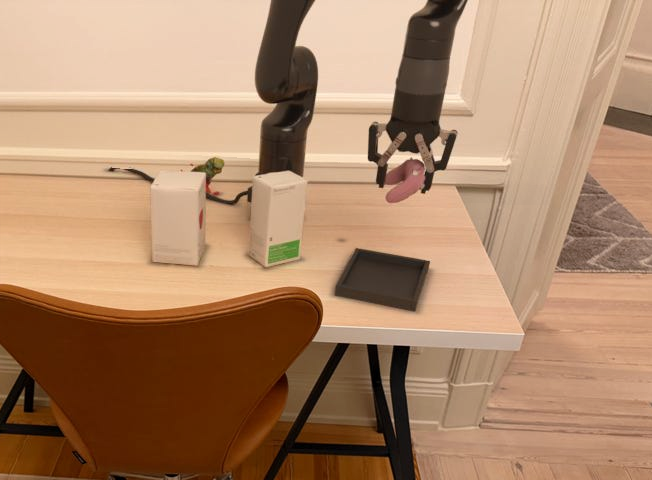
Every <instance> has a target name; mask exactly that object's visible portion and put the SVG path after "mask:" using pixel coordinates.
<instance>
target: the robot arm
mask: <svg viewBox="0 0 652 480" xmlns="http://www.w3.org/2000/svg"><path fill="white" fill-rule="evenodd" d="M468 1H469V0H426V2H425V4H424V6H423V7H422V8H421V9H419V10H418V11H416V12H415V13H413V14H412V15H411V16H410V17H409V19H408V22H407V25H406V31H405V37H404V42H403V49H402V54H401V58H400V59H401V60H400V63H399V66H398V71H397V76H396V78H395V86H394V87H395V88H394V95H393V99H392V100H393V101H392V106H391V113H390V118H389V120H388V122H387V123H385V122H384V123H383V122H382V123H380V122H378V121H373V122H372V123H370V126H369V127H368V140H367V161H368V162H370V163H375V164H376V165H377V170H376V177H375V184H376V185H378V189H384V187H385V185H386V184H385V180H386V174H387V173H388V167H389V163H388V161H389V160H390V159H391V158H392V157H393V156H394V154H395V152H396V151H398V152H399V153H407V152H409V153H412V154H417V155H418V154H419V155H420V157H421V161H422V162H423V163H424V166H425V170H424V176H425V180H424V182H423V183H424V187H423V189H421V190H420V194H424V195H425V194H426V193H427V192H429V191H430V190H431V188H432V185H433V180H434V176H435V173H436V172H438V171H445V170H446V169H447V167H448V164H449V161H450V158H451V154H452V153H453V152H452V151H453V149H454V146H455V143H456V140H457V137H458V130H457V129H451V130H446V129H442V128H441V126H440V120H441V114H442V111H443V110H442V109H443V104H444V99H445V96H446V95H445V94H446V89H447V85H448V81H449V80H448V79H449V74H450V63H451V55H452V51H453V46H454V40H455V36H456V29H457V26H458V23H459V21H460V19H461V18H462V15H463V13H464V11H465V9H466V5H467V3H468ZM315 2H316V0H270V3H269V8H268V14H267V19H266V23H265V27H264V30H263V35H262V39H261V42H260V46H259V49H258V53H257V57H256V62H255V68H254V86H255V90H256V93H257V95H258V98H259V99H260V100H261V101H262V102H264V103H266V104H269V105H275V106H274V107H273V109H272V110H271V111H270V113H268V114H267V115H266V116H264V117H263V119H262V121H261V122H260V132H259V133H260V134H259V153H258V167H257V172H256V173H255V175H254V176H257V175H264V174H268V173H276V172H283V171H291V172H293V173H295V174H296V175H299V176H301V177H303V178H304V173H305V161H306V151H307V150H306V149H307V140H308V138H307V137H308V131H309V128H310V126H311V123H312V121H313V118H314V112H315V107H316V98H317V93H318V85H319V84H318V83H319V67H318V66H319V65H318V61H317V58H316V56H315V54H314V52H313V51H312V50H311V49H310V48H309V47H306V46H303V45H297V46H296V44H297V40H298V37H299V33H300V30H301V27H302V25H303V23H304V20H305V19H306V17H307V15H308V13H309V12H310V10H311V8H312V7H313V5H314V4H315ZM384 132H386V134H387V136H388V137H389V141H390V144H389V145H388V146H387V148H386V149H385V151H384V152H383V153H382V154H381V153H379V138H381V137H382V135H383V133H384ZM438 138H440V139H441V141H440V142H441V144H442V146H444V150H443V152H442V155H441V158H440V159H439V160H435V159H436V158H435V157H434V153H433V148H432V144H433V142H434V141H436V140H437V139H438ZM117 169H118V170H121V169H120V168H112V166H111V167H110V168H109V169H108V172H113V171H114V170H117ZM122 170H123V171H126V172H130V173H133V174H136V175H139V176H141V177H142V178H144V179H146V180H147V181H149V182H151V183H153V182H154V180H155V178H153V177H152V176H150V175H149V174H147V173H145V172H143V171H142V170H138V169H135V168H132V169H122ZM245 196H246V197H247V198H246V202H247V203H250V204H251V201H252V185H251V186H249V187H248V188H247V190H244V191H241V192H239V193H238V194H237V195H236V196H235V199H232V200H226V199H222V198H220V197H217V196H215V195H212V194H209V193H206V199H209V200H211V201H214V202H216V203H220V204H225V205H235V204H238V202H240V199H241V198H242V197H245Z"/></svg>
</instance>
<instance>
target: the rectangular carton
mask: <svg viewBox="0 0 652 480" xmlns="http://www.w3.org/2000/svg"><path fill="white" fill-rule="evenodd" d="M154 179H155V180H154V182H151V184H150V187H149V195H150V198H149V199H150V225H151V227H150V228H151V230H150V231H151V251H152V252H151V257H152V259H151V260H152V263H162V264H163V263H164V264H172V265H173V264H174V265H185V266H197V267H198V265H199V264H200V261H201V258H202V255H203V253H204V251H205V247H206V220H207V219H206V215H207V214H206V212H207V210H206V209H207V208H206V207H207V206H206V205H207V204H206V201H207V198H206V194H207V190H206V173H203V172H190V171H185V170H182V171H181V170H172V169H171V170H169V169H161V170H160V171H159V172H158V173H157V175H156V176H155V177H154Z"/></svg>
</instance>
